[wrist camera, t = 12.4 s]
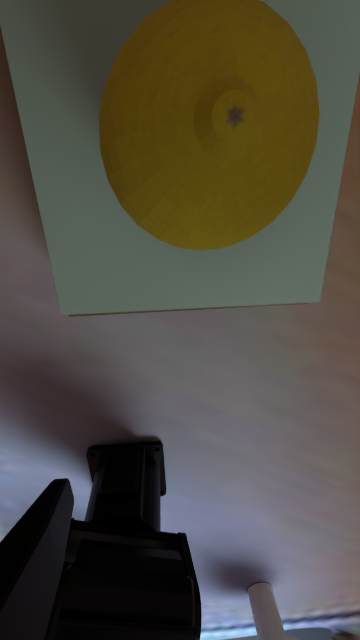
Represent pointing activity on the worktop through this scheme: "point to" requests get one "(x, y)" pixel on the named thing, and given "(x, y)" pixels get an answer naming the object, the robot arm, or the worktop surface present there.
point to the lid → (101, 202)
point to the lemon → (208, 121)
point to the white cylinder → (266, 613)
